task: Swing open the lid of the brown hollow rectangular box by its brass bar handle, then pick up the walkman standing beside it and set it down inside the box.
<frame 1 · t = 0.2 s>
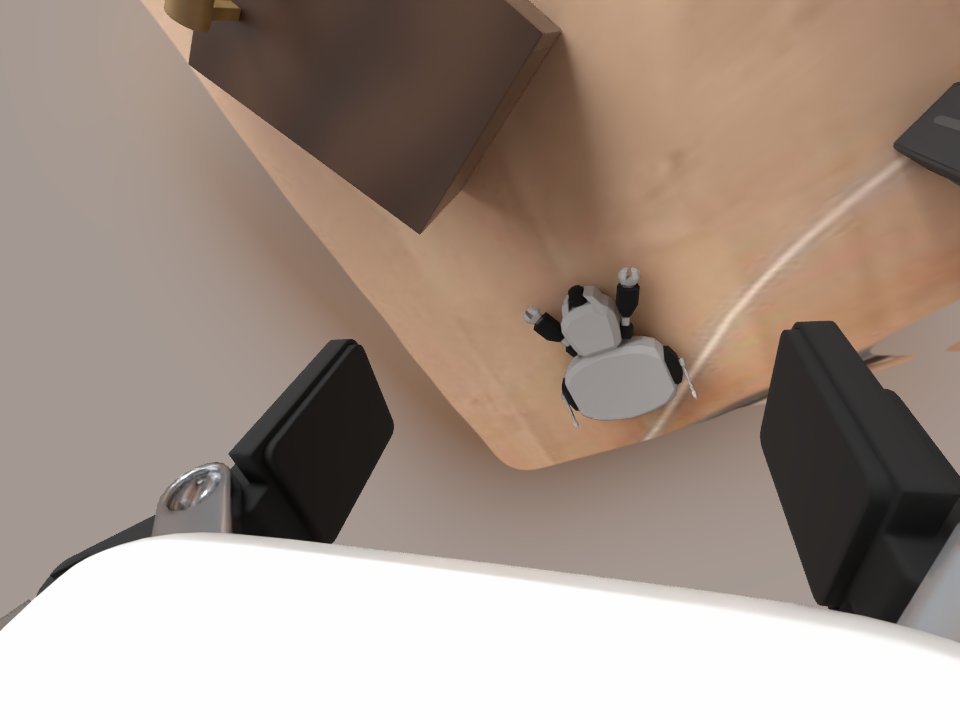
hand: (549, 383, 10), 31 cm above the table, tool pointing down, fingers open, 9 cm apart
chest lid: (331, 52, 24), point 13 cm above the table, hinge at 0.0°
brown hollow rectangular box: (417, 47, 34), on the table
robot toy: (606, 338, 45), on the table
walkie-talkie: (942, 126, 30), on the table
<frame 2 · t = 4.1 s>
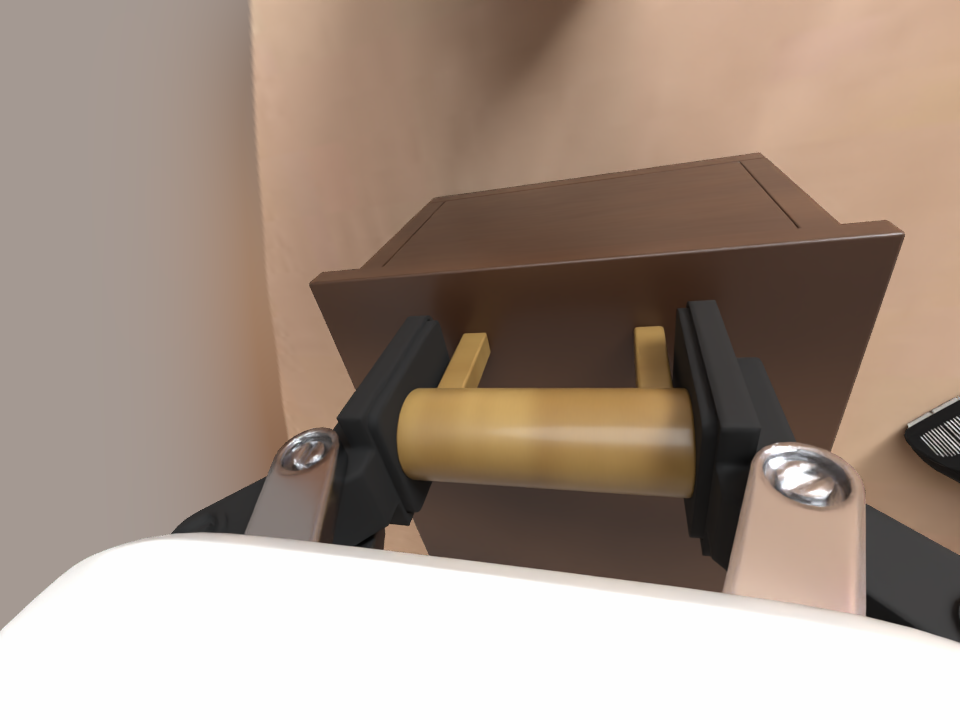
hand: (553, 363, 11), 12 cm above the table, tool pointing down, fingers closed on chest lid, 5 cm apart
chest lid: (571, 549, 14), point 13 cm above the table, hinge at 0.0°, touching gripper
brown hollow rectangular box: (590, 339, 24), on the table
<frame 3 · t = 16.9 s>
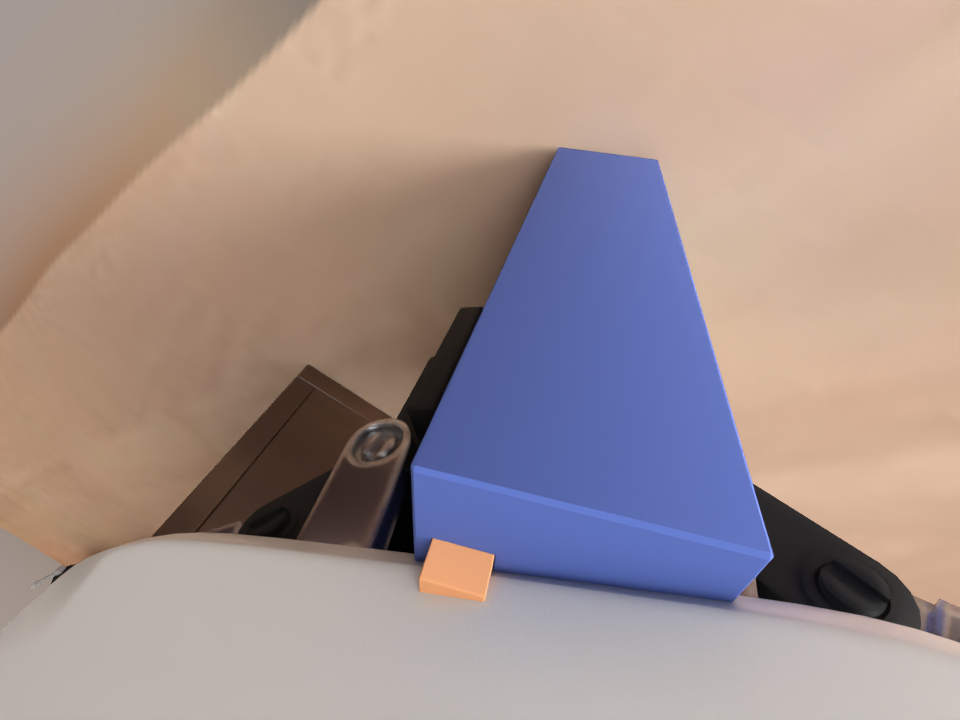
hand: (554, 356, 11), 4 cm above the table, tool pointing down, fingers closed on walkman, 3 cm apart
brown hollow rectangular box: (366, 512, 26), on the table
walkman: (581, 275, 15), on the table, touching gripper
when the fingers open (7 cm above the table, at t = 24.5 s): walkman stays where it is, resting on brown hollow rectangular box.
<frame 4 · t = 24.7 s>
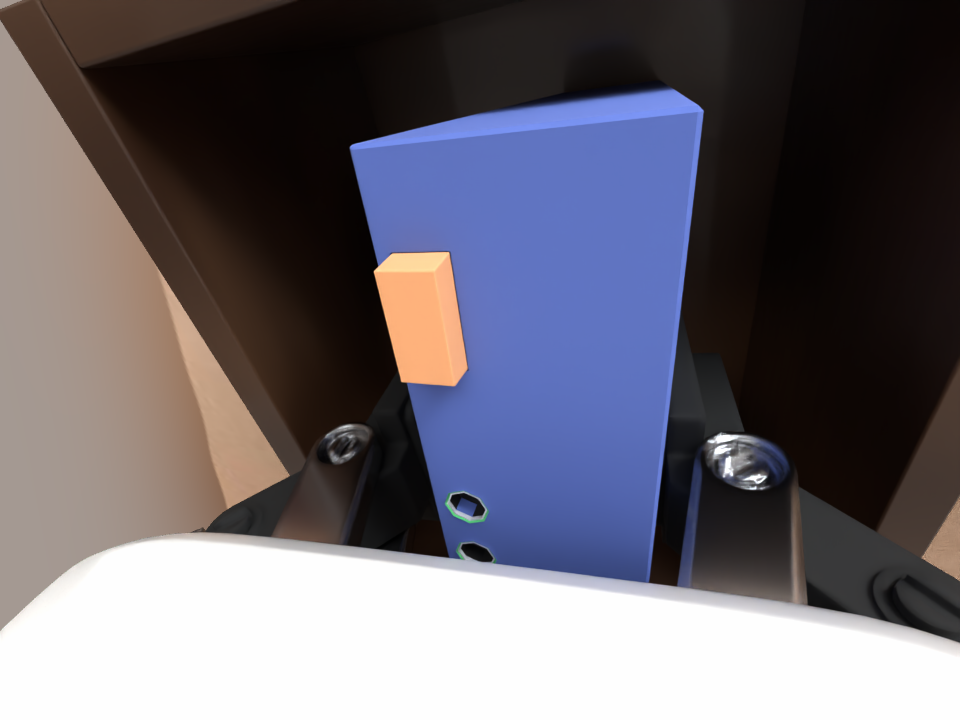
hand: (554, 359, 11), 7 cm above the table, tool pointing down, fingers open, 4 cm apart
brown hollow rectangular box: (574, 249, 17), on the table
walkman: (608, 221, 15), point 1 cm above the table, touching brown hollow rectangular box, gripper
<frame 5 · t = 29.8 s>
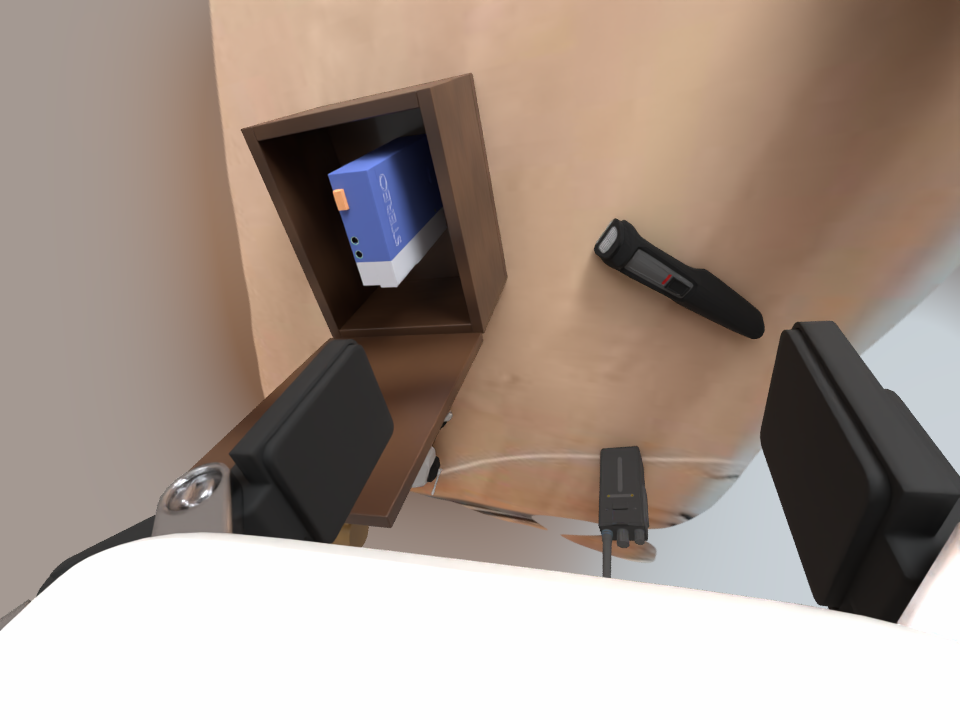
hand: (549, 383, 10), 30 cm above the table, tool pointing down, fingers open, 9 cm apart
electric trimmer: (678, 271, 39), on the table
chest lid: (361, 431, 31), point 19 cm above the table, hinge at 86.0°
brown hollow rectangular box: (418, 198, 40), on the table
robot toy: (407, 424, 59), on the table
walkman: (425, 183, 39), point 1 cm above the table, touching brown hollow rectangular box
walkie-talkie: (622, 456, 53), on the table
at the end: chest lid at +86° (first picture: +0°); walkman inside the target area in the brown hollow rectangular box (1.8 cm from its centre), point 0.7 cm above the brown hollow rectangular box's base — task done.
